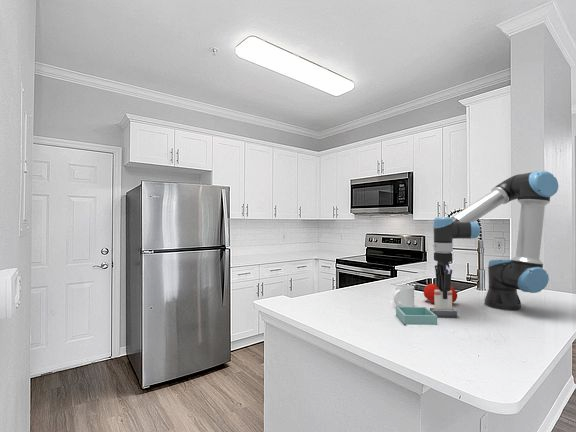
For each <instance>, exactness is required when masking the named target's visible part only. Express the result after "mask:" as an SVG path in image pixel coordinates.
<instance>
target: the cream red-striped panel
mask: <svg viewBox="0 0 576 432" xmlns="http://www.w3.org/2000/svg"><path fill="white" fill-rule="evenodd" d="M434 302H435V304H434V308H435V310H452V309H453V303H452V290H450V291H448V306H441V291H440V290H434Z"/></svg>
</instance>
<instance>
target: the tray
mask: <svg viewBox="0 0 576 432" xmlns="http://www.w3.org/2000/svg"><path fill="white" fill-rule="evenodd" d="M395 316H396V317H397V318H398V321H400V322H401V324H403V326H407V325H430V326H431V325H438V318H437V316H436V315H435V314H434V313H433V312H431V311H430V308H427V307H426V306H414V307H398V306H395Z"/></svg>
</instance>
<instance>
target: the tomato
mask: <svg viewBox="0 0 576 432" xmlns="http://www.w3.org/2000/svg"><path fill="white" fill-rule="evenodd" d="M434 290H439V289H438V287H437V286H436V283H428V284H427V285H426V286H425V287H424V288H423V295H424V298H426V299H427V301H428V302H430V303H432V304H434V305H435V302H434ZM450 290H452V304H454V303H455V302H456V301H457V299H458V293H457V292H456V289H455V288H454V286H452V285H451V288H450Z"/></svg>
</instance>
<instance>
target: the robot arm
mask: <svg viewBox="0 0 576 432" xmlns="http://www.w3.org/2000/svg"><path fill="white" fill-rule="evenodd" d="M558 190H559V181H558V179H557V177H555V176H554V174H553V173H551V172H549V171H547V170H540V171H539V170H538V171H537V170H535V171H531V172H526V173H519V174H514V175H513V176H510V177H508V178H507V179H504V180H503V181H501V182H500V183H498V184H497V185H495V186H494V187H492V188H491V191H490V192H489V193H487V194H485V195H484V196H482V197H481V198H479V199H478V200H476V201H475V202H473V203H471V204H470V205H468V206H467V207H465V208H464V209H461V211H459V212H458V213H456V214H454V215H453V216H452V217H447V216H446V217H435V218H434V219H433V227H432V228H433V245H432V247H433V251H434V252H433V261H435V262H437V263H436V264H435V265H434V269H435V271H434V272H435V284H436V286H437V287H438V289H439V290H440V291H441V306H448V291H450V288H451V286H452V284H451V283H452V274H453V269H450V263H451V262H453V256H454V255H453V253H452V252H453V250H454V249H453V248H454V245H453V244H454V243H453V241H454V239H457V240H458V239H463V240H464V239H469V240H471V239H477V238H478V237H479V236H480V234H481V226H480V225H479V223H478V222H476V221H478V220H479V219H481V218H482V217H483V216H486V215H487V214H488V213H490V212H491V211H493V210H494V209H496V208H498V207H499V206H501V205H506V204H508V203H510V202H511V201H514V200H517V202H518V203H519V204H520V211H519V212H520V214H519V221H518V222H519V223H518V233H517V234H518V235H517V240H516V241H517V242H516V249H515V250H516V251H515V256H514V257H513V258H511V259H490V260H489V261H488V266H487V269H488V290H487V292H486V296H485V298H484V305H485V306H487V307H490V308H492V309H493V308H494V309H498V310H504V311H505V310H506V311H519V310H522V302H521V300H520V296H519V294H518V291H517V290H519V291H521V292H523V293H530V294H531V293H532V294H536V293H540V292H542V291H543V290H545V289H546V287H547V286H548V283H549V281H550V277H549V273H548V272H547V270H546V269H544V263H543V262H542V260H541V259H540V255H541V248H542V247H541V246H542V238H543V237H542V236H543V228H544V218H545V209H546V206H547V205H548V204H550V202H551V197H553V196H555V194H557V192H558Z"/></svg>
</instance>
